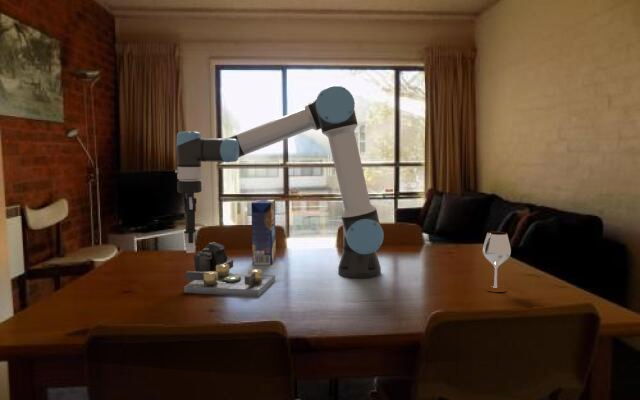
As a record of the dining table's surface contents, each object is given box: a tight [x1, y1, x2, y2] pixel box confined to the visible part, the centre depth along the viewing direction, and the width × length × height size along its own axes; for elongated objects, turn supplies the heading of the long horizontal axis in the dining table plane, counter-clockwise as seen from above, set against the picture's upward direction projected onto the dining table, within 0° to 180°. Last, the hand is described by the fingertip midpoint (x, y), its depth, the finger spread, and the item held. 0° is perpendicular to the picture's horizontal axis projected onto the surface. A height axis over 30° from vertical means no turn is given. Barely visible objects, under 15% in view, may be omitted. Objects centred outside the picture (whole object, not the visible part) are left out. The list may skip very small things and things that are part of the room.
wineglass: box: [482, 231, 512, 288], centre depth 150 cm, size 8×8×18 cm
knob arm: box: [245, 268, 263, 285], centre depth 151 cm, size 10×4×3 cm, turn 170°
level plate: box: [183, 272, 276, 298], centre depth 155 cm, size 24×18×3 cm
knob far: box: [215, 259, 234, 277], centre depth 164 cm, size 10×4×3 cm, turn 170°
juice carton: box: [250, 199, 277, 266], centre depth 190 cm, size 12×8×24 cm, turn 178°
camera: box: [193, 241, 228, 272], centre depth 178 cm, size 13×10×10 cm
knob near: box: [185, 270, 218, 285], centre depth 152 cm, size 10×4×3 cm, turn 80°
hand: (190, 252), depth 157 cm, fingers closed
